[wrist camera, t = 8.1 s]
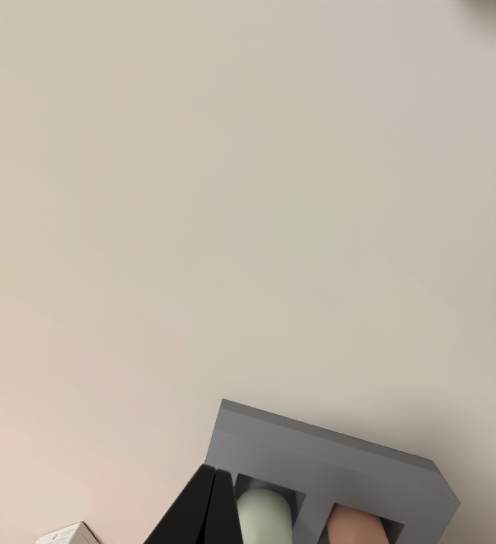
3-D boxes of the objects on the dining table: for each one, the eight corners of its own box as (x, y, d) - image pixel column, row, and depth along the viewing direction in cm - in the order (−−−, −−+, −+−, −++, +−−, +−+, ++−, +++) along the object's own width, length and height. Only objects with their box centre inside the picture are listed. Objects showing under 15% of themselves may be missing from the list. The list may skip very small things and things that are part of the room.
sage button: (297, 498, 18) (302, 557, 15) (282, 538, 19) (283, 602, 16) (243, 481, 18) (236, 536, 15) (230, 522, 19) (221, 582, 16)
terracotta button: (384, 498, 19) (405, 552, 16) (366, 535, 20) (382, 593, 17) (333, 483, 20) (344, 533, 16) (317, 520, 20) (325, 574, 17)
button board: (432, 460, 20) (462, 506, 16) (350, 617, 24) (361, 677, 21) (222, 398, 20) (213, 431, 17) (178, 561, 25) (165, 610, 21)
